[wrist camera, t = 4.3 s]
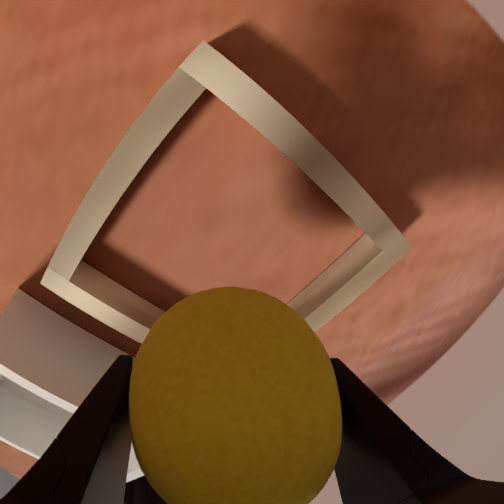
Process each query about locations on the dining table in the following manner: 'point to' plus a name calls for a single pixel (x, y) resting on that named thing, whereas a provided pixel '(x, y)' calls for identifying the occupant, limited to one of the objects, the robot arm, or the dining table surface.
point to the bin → (46, 374)
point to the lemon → (234, 402)
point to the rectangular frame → (278, 133)
